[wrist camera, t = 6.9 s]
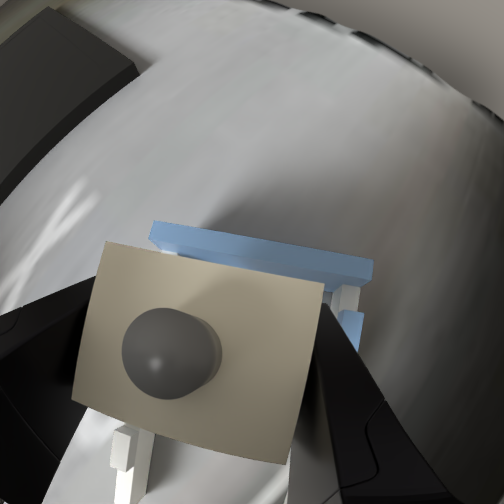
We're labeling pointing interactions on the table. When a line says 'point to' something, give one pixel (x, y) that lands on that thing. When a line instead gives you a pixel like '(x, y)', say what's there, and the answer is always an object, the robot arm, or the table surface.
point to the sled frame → (252, 258)
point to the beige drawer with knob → (198, 350)
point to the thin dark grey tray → (51, 88)
